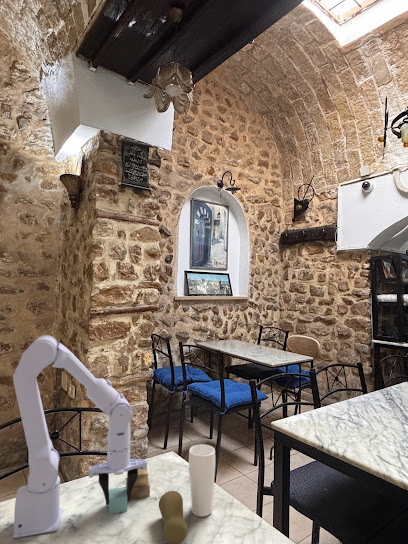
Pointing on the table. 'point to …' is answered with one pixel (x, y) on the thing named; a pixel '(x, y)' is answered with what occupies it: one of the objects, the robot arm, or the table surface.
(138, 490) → the tower base
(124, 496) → the teal block
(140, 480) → the tower mid
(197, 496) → the drinking glass
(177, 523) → the olive rounded piece
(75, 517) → the table surface
